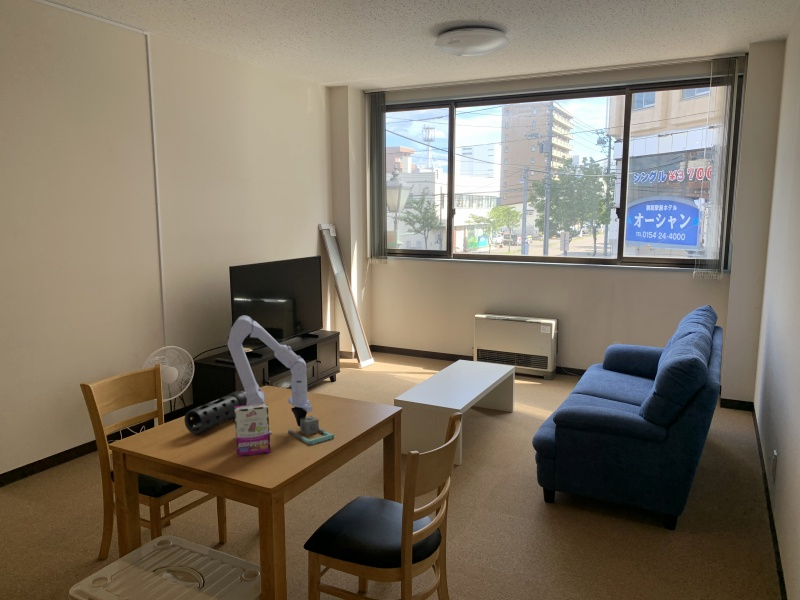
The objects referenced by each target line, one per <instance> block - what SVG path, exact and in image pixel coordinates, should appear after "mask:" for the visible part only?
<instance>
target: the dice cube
mask: <svg viewBox="0 0 800 600" xmlns="http://www.w3.org/2000/svg"><path fill="white" fill-rule="evenodd" d="M319 423H320V422H319V418H317V417H315V416H313V415H309V416H306V417H304V418H300V428H299V429H300V430H299V431H300V432H301V433H302V434H304V435H306V436H310V435H313V433H314V434H317V433H316V432H318V433H320V432H319V428H320V427H319Z"/></svg>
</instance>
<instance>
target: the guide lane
mask: <svg viewBox="0 0 800 600" xmlns="http://www.w3.org/2000/svg"><path fill="white" fill-rule="evenodd" d="M287 431H288V432H287V433H288V434H290V435H291V436H293V437H295V438H297V439H299V440H301V441H302V442H304V443H306V444H307V445H309V446H312V445H315V443H316V444H319V443H322V442H321V441H323V442H326V441H329V440H328V439H330V440H333V439H335V433H330V432H328V431H326V430H325V429H323V428H320V427H319V432H318V433H320V432H321V433H320V434H322V436H319V437H316V438H312V439H309V438H307V437H305V436H303V435H301V434H300V433H298V432H296V431H294V430H292V429H288V430H287ZM323 434H324V435H323ZM325 435H326V436H325ZM332 438H333V439H332ZM325 440H326V441H325ZM318 442H319V443H318Z"/></svg>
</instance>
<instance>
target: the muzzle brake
mask: <svg viewBox="0 0 800 600" xmlns="http://www.w3.org/2000/svg"><path fill="white" fill-rule="evenodd" d="M246 404H247V399H246V396H245V390H244V391H243V390H236V391H233V392H231V393H229V394H228V395H225V396H222V397H220V398H218V399H215V400H213V401H210V402H208V403H205V404H203V405H200V406H198V407H195V408H193V409H190V410H188V411H187V412H186V413H185V415H184V424H185V427H186V429H187V430H188V431H189V432H190V433H191V434H193V436H196V435H197V436H199V435H201V434H203V433H206V432H208V431H210V430H212V429H214V428H215V427H218V426H220V425H221V424H222V423H225V422H226V421H227V420H228V422H231V421H233V420H235V414H234V407H235V406H244V405H246ZM232 419H233V420H232ZM230 420H231V421H230Z"/></svg>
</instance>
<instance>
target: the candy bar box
mask: <svg viewBox="0 0 800 600" xmlns="http://www.w3.org/2000/svg"><path fill="white" fill-rule="evenodd" d="M234 414H235V419H234V425H235V439H236V440H235V441H236V454H237V457H238V458H239V457H240V458H241V457H248V456H255V455H261V454H262V455H263V454H269V453H271V434H270V433H269V431H270V420H269V406H268V403H267V402H264V403H262V404H253V405H244V406H235V407H234Z"/></svg>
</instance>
